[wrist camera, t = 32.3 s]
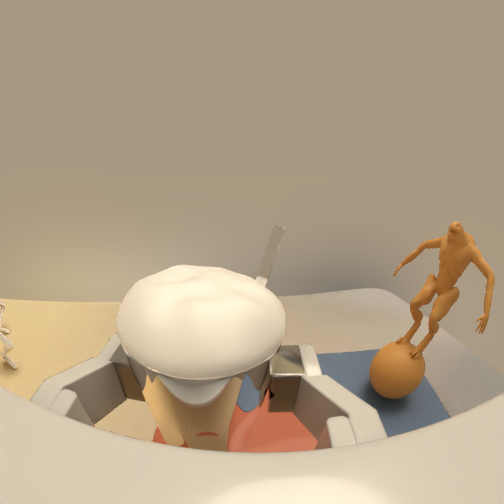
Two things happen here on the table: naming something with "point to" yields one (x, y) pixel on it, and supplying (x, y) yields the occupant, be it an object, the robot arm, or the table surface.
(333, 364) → the sorting board
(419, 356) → the figurine
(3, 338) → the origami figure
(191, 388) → the milkshake
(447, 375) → the table surface
